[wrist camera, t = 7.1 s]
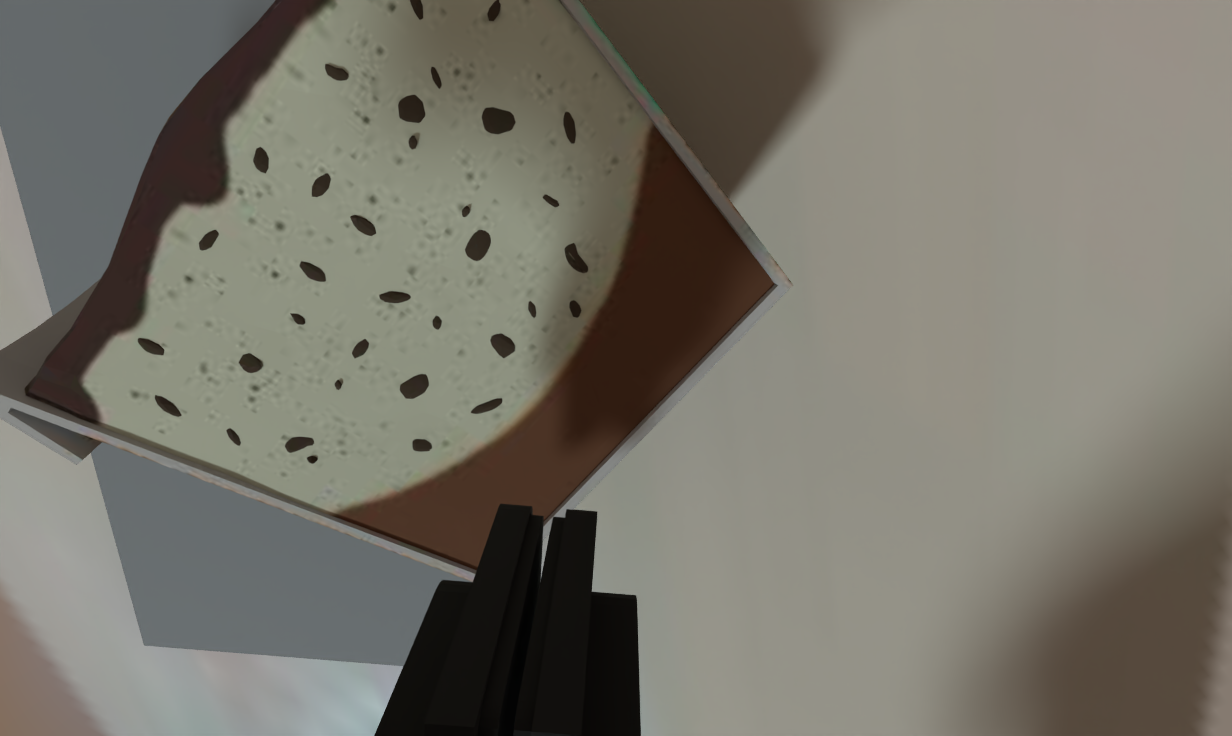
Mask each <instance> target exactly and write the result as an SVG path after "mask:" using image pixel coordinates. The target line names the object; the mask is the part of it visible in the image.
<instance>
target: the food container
mask: <svg viewBox="0 0 1232 736" xmlns="http://www.w3.org/2000/svg"><path fill="white" fill-rule="evenodd" d="M792 286H793V284H792V283H791V281H790V280H789V279H788V277H787V276H786V275H785V273H784V272H783V271H782V269H781V268H780V267H779V265H778V264H777V263H776V261H775V260H774V259H773V257H772V256H771V255H770V253H769V252H768V251H767V249H766V248H765V247H764V245H763V244H762V243H761V241H760V240H759V239H758V237H757V236H756V235H755V233H754V232H753V231H752V229H751V228H750V227H749V225H748V224H747V223H746V221H745V220H744V219H743V218H742V216H741V215H740V214H739V212H738V211H737V210H736V208H735V207H734V206H733V204H732V203H731V202H730V200H729V199H728V198H727V196H726V195H725V194H724V192H723V191H722V190H721V188H720V187H719V186H718V184H717V183H716V182H715V180H714V179H713V178H712V176H711V175H710V174H709V172H708V171H707V170H706V168H705V167H704V166H703V164H702V163H701V162H700V160H699V159H698V158H697V156H696V155H695V154H694V152H693V151H692V150H691V148H690V147H689V146H688V144H687V143H686V142H685V140H684V139H683V138H682V136H681V135H680V134H679V132H678V131H677V130H676V128H675V127H674V126H673V124H672V123H671V122H670V120H669V119H668V118H667V117H666V115H665V114H664V113H663V111H662V110H661V109H660V107H659V106H658V105H657V103H656V102H655V101H654V99H653V98H652V97H651V95H650V94H649V93H648V91H647V90H646V89H645V87H644V86H643V85H642V83H641V82H640V81H639V79H638V78H637V77H636V75H635V74H634V73H633V71H632V70H631V69H630V67H629V66H628V65H627V63H626V62H625V61H624V59H623V58H622V57H621V55H620V54H619V53H618V51H617V50H616V49H615V47H614V46H613V45H612V43H611V42H610V41H609V39H608V38H607V37H606V35H605V34H604V33H603V31H602V30H601V29H600V27H599V26H598V25H597V23H596V22H595V21H594V19H593V18H592V17H591V15H590V14H589V13H588V12H587V10H586V9H585V8H584V6H583V5H582V4H581V2H580V1H579V0H275V1H274V3H273V4H272V5H271V6H270V7H269V9H268V10H267V11H266V12H265V13H264V15H263V16H262V17H261V18H260V19H259V21H258V22H257V23H256V24H255V25H254V26H253V27H252V28H251V29H250V30H249V31H248V32H247V33H246V34H245V35H244V36H243V37H242V38H241V39H240V40H239V41H238V42H237V43H236V44H235V45H234V46H233V47H232V48H231V49H230V50H229V51H228V52H227V53H226V54H225V55H224V56H223V57H222V58H221V59H220V60H219V61H218V62H217V63H216V64H215V65H214V66H213V67H212V68H211V69H210V70H209V71H208V72H207V73H206V74H205V75H204V76H203V77H202V78H201V79H200V80H199V81H198V82H197V83H196V85H195V86H194V87H193V88H192V90H191V91H190V92H189V93H188V94H187V96H186V97H185V98H184V99H183V101H182V102H181V103H180V104H179V106H178V107H177V108H176V109H175V110H174V112H173V113H172V114H171V115H170V117H169V118H168V120H167V122H166V123H165V125H164V127H163V128H162V130H161V132H160V134H159V136H158V138H157V140H156V142H155V144H154V147H153V149H152V151H151V154H150V156H149V158H148V161H147V163H146V165H145V168H144V170H143V173H142V175H141V178H140V180H139V183H138V186H137V189H136V191H135V194H134V197H133V200H132V202H131V205H130V208H129V211H128V213H127V216H126V219H125V222H124V225H123V227H122V230H121V233H120V236H119V238H118V241H117V244H116V247H115V249H114V252H113V255H112V258H111V260H110V263H109V266H108V267H107V269H106V271H105V272H104V274H103V276H102V277H101V279H99V280H98V281H97V282H96V283H94V284H93V285H92V286H91V287H90V288H88V289H87V290H86V291H85V292H83V293H82V294H81V295H80V296H78V297H77V298H76V299H75V300H74V301H72V302H71V303H70V304H68V305H67V306H66V307H64V308H63V309H61V310H60V311H59V312H57V313H56V314H55V315H53V316H52V317H51V318H49V319H48V320H46V321H45V322H44V323H42V324H41V325H40V326H38V327H37V328H35V329H34V330H32V331H31V332H29V333H28V334H26V335H24V336H23V337H21V338H20V339H18V340H16V341H15V342H13V343H12V344H10V345H8V346H7V347H5V348H4V349H2V350H1V351H0V418H1V419H2V420H4V421H6V422H7V423H9V424H10V425H12V426H14V427H15V428H17V429H19V430H20V431H22V432H24V433H25V434H27V435H28V436H30V437H32V438H33V439H35V440H37V441H38V442H40V443H42V444H43V445H45V446H46V447H48V448H50V449H51V450H53V451H55V452H56V453H58V454H60V455H61V456H63V457H65V458H66V459H68V460H69V461H71V462H73V463H74V464H76V465H77V464H78V463H79V462H81V461H82V460H83V459H84V458H85V457H86V456H87V455H89V454H90V453H91V452H92V451H93V450H94V449H95V448H96V447H97V446H99V445H100V444H101V443H102V442H103V443H106V444H109V445H111V446H114V447H116V448H119V449H122V450H124V451H127V452H130V453H132V454H135V455H138V456H140V457H143V458H146V459H148V460H151V461H154V462H156V463H159V464H161V465H164V466H167V467H169V468H172V469H175V470H177V471H180V472H183V473H185V474H188V475H191V476H193V477H196V478H199V479H201V480H204V481H206V482H209V483H212V484H214V485H217V486H220V487H222V488H225V489H228V490H230V491H233V492H236V493H238V494H241V495H244V496H246V497H249V498H251V499H254V500H257V501H259V502H262V503H265V504H267V505H270V506H273V507H275V508H278V509H281V510H283V511H286V512H289V513H291V514H294V515H296V516H299V517H302V518H304V519H307V520H310V521H312V522H315V523H318V524H320V525H323V526H326V527H328V528H331V529H333V530H336V531H339V532H341V533H344V534H347V535H349V536H352V537H355V538H357V539H360V540H363V541H365V542H368V543H371V544H373V545H376V546H378V547H381V548H384V549H386V550H389V551H392V552H394V553H397V554H400V555H402V556H405V557H408V558H410V559H413V560H416V561H418V562H421V563H423V564H426V565H429V566H431V567H434V568H437V569H439V570H442V571H445V572H447V573H450V574H453V575H455V576H458V577H461V578H463V579H466V580H468V581H471V582H473V580H474V577H475V574H476V571H477V568H478V565H479V562H480V559H481V556H482V554H483V551H484V548H485V545H486V542H487V539H488V536H489V533H490V530H491V527H492V524H493V522H494V519H495V516H496V513H497V510H498V507H499V505H500V504H512V505H524V506H532V508H533V515H540V516H543V517H544V524H543V540H544V539H545V538H546V537H547V536H548V535H549V534H550V530H551V524H552V519H553V517H564V518H565V514H566V509H571V510H573V509H574V508H575V507H576V506H577V505H578V504H579V503H580V502H581V501H582V500H583V499H584V498H585V497H586V496H587V495H588V494H589V493H590V492H591V491H592V490H593V489H594V488H595V487H596V486H597V485H598V484H599V483H600V482H601V481H602V480H603V478H604V477H605V476H606V475H607V474H608V473H609V472H610V471H611V470H612V469H613V468H614V467H615V466H616V465H617V464H618V463H619V462H620V461H621V460H622V459H623V458H624V457H625V456H626V455H627V454H628V453H629V452H630V451H631V450H632V449H633V448H634V447H635V446H636V445H637V444H638V443H639V442H640V441H641V440H642V439H643V438H644V437H645V436H646V435H647V434H648V433H649V432H650V431H651V430H652V429H653V428H654V426H655V425H656V424H657V423H658V422H659V421H660V420H661V419H662V418H663V417H664V416H665V415H666V414H667V413H668V412H669V411H670V410H671V409H672V408H673V407H674V406H675V405H676V404H677V403H678V402H679V401H680V400H681V399H682V398H683V397H684V396H685V395H686V394H687V393H688V392H689V391H690V390H691V389H692V388H693V387H694V386H695V385H696V384H697V383H698V382H699V381H700V380H701V379H702V378H703V377H704V376H705V374H706V373H707V372H708V371H709V370H710V369H711V368H712V367H713V366H714V365H715V364H716V363H717V362H718V361H719V360H720V359H721V358H722V357H723V356H724V355H725V354H726V353H727V352H728V351H729V350H730V349H731V348H732V347H733V346H734V345H735V344H736V343H737V342H738V341H739V340H740V339H741V338H742V337H743V336H744V335H745V334H746V333H747V332H748V331H749V330H750V329H751V328H752V327H753V326H754V325H755V323H756V322H757V321H758V320H759V319H760V318H761V317H762V316H763V315H764V314H765V313H766V312H767V311H768V310H769V309H770V308H771V307H772V306H773V305H774V304H775V303H776V302H777V301H778V300H779V299H780V298H781V297H782V296H783V295H784V294H785V293H786V292H787V291H788V290H789V289H790V288H791V287H792Z"/></svg>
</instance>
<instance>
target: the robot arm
mask: <svg viewBox="0 0 1232 736" xmlns="http://www.w3.org/2000/svg"><path fill="white" fill-rule="evenodd" d="M543 524H544V517H543V516H540V515H533V508H532V506H524V505H512V504H500V505H499V507H498V510H497V513H496V516H495V519H494V522H493V524H492V527H491V530H490V533H489V536H488V539H487V542H486V545H485V548H484V551H483V554H482V556H481V559H480V562H479V565H478V568H477V571H476V574H475V577H474V580H473V582H464V581H452V580H442V581H441V582H440V583H439V585H438V586H437V588H436V590H435V593H434V595H433V597H432V600H431V602H430V605H429V607H428V609H427V612H426V614H425V616H424V619H423V621H422V624H421V626H420V628H419V631H418V633H417V636H416V638H415V640H414V643H413V645H412V647H411V650H410V652H409V655H408V657H407V659H406V662H405V664H404V666H403V669H402V671H401V674H400V676H399V678H398V681H397V683H396V685H395V688H394V690H393V693H392V695H391V697H390V700H389V702H388V705H387V707H386V709H385V712H384V714H383V716H382V719H381V721H380V724H379V726H378V728H377V731H376V733H375V735H374V736H641V726H640V691H639V655H638V619H637V598H636V595H625V594H612V593H600V592H592V579H593V565H594V551H595V538H596V524H597V512H595V511H583V510H571V509H566V514H565V518H564V517H553V519H552V524H551V530H550V535H549V540H548V545H547V551H546V556H545V561H544V566H543V572H542V577H541V561H542V542H543ZM540 580H541V582H540Z"/></svg>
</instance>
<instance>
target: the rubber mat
mask: <svg viewBox="0 0 1232 736" xmlns="http://www.w3.org/2000/svg"><path fill="white" fill-rule="evenodd" d="M274 1H275V0H0V127H1V130H2V134H3V137H4V141H5V145H6V148H7V152H8V156H9V159H10V163H11V166H12V170H13V174H14V177H15V181H16V184H17V188H18V192H19V195H20V199H21V202H22V206H23V210H24V213H25V217H26V221H27V224H28V228H29V231H30V235H31V239H32V242H33V246H34V249H35V253H36V257H37V260H38V264H39V267H40V271H41V275H42V278H43V282H44V286H45V289H46V293H47V296H48V300H49V304H50V307H51V311H52V314H53V315H55V314H56V313H57V312H59V311H60V310H61V309H63V308H64V307H66V306H67V305H68V304H70V303H71V302H72V301H74V300H75V299H76V298H77V297H78V296H80V295H81V294H82V293H83V292H85V291H86V290H87V289H88V288H90V287H91V286H92V285H93V284H94V283H96V282H97V281H98V280H99V279H101V277H102V276H103V274H104V272H105V271H106V269H107V267H108V266H109V263H110V260H111V258H112V255H113V252H114V249H115V247H116V244H117V241H118V238H119V236H120V233H121V230H122V227H123V225H124V222H125V219H126V216H127V213H128V211H129V208H130V205H131V202H132V200H133V197H134V194H135V191H136V189H137V186H138V183H139V180H140V178H141V175H142V173H143V170H144V168H145V165H146V163H147V161H148V158H149V156H150V154H151V151H152V149H153V147H154V144H155V142H156V140H157V138H158V136H159V134H160V132H161V130H162V128H163V127H164V125H165V123H166V122H167V120H168V118H169V117H170V115H171V114H172V113H173V112H174V110H175V109H176V108H177V107H178V106H179V104H180V103H181V102H182V101H183V99H184V98H185V97H186V96H187V94H188V93H189V92H190V91H191V90H192V88H193V87H194V86H195V85H196V83H197V82H198V81H199V80H200V79H201V78H202V77H203V76H204V75H205V74H206V73H207V72H208V71H209V70H210V69H211V68H212V67H213V66H214V65H215V64H216V63H217V62H218V61H219V60H220V59H221V58H222V57H223V56H224V55H225V54H226V53H227V52H228V51H229V50H230V49H231V48H232V47H233V46H234V45H235V44H236V43H237V42H238V41H239V40H240V39H241V38H242V37H243V36H244V35H245V34H246V33H247V32H248V31H249V30H250V29H251V28H252V27H253V26H254V25H255V24H256V23H257V22H258V21H259V19H260V18H261V17H262V16H263V15H264V13H265V12H266V11H267V10H268V9H269V7H270V6H271V5H272V4H273V3H274ZM91 455H92V459H93V462H94V466H95V470H96V473H97V477H98V480H99V484H100V488H101V491H102V495H103V498H104V502H105V506H106V509H107V513H108V517H109V520H110V524H111V527H112V531H113V535H114V538H115V542H116V545H117V549H118V553H119V556H120V560H121V563H122V567H123V571H124V574H125V578H126V582H127V585H128V589H129V592H130V596H131V600H132V603H133V607H134V610H135V614H136V618H137V621H138V625H139V628H140V632H141V636H142V639H143V643H144V645H145V646H158V647H170V648H183V649H195V650H208V651H220V652H233V653H246V654H258V655H271V656H283V657H296V658H308V659H321V660H333V661H346V662H359V663H371V664H384V665H396V666H404V664H405V662H406V659H407V657H408V655H409V652H410V650H411V647H412V645H413V643H414V640H415V638H416V636H417V633H418V631H419V628H420V626H421V624H422V621H423V619H424V616H425V614H426V612H427V609H428V607H429V605H430V602H431V600H432V597H433V595H434V593H435V590H436V588H437V586H438V585H439V583H440V582H441V581H442V580H452V581H464V582H471V581H468V580H466V579H463V578H461V577H458V576H455V575H453V574H450V573H447V572H445V571H442V570H439V569H437V568H434V567H431V566H429V565H426V564H423V563H421V562H418V561H416V560H413V559H410V558H408V557H405V556H402V555H400V554H397V553H394V552H392V551H389V550H386V549H384V548H381V547H378V546H376V545H373V544H371V543H368V542H365V541H363V540H360V539H357V538H355V537H352V536H349V535H347V534H344V533H341V532H339V531H336V530H333V529H331V528H328V527H326V526H323V525H320V524H318V523H315V522H312V521H310V520H307V519H304V518H302V517H299V516H296V515H294V514H291V513H289V512H286V511H283V510H281V509H278V508H275V507H273V506H270V505H267V504H265V503H262V502H259V501H257V500H254V499H251V498H249V497H246V496H244V495H241V494H238V493H236V492H233V491H230V490H228V489H225V488H222V487H220V486H217V485H214V484H212V483H209V482H206V481H204V480H201V479H199V478H196V477H193V476H191V475H188V474H185V473H183V472H180V471H177V470H175V469H172V468H169V467H167V466H164V465H161V464H159V463H156V462H154V461H151V460H148V459H146V458H143V457H140V456H138V455H135V454H132V453H130V452H127V451H124V450H122V449H119V448H116V447H114V446H111V445H109V444H106V443H103V442H102V443H101V444H100V445H99V446H97V447H96V448H95V449H94V450H93V451H92V452H91Z"/></svg>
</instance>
